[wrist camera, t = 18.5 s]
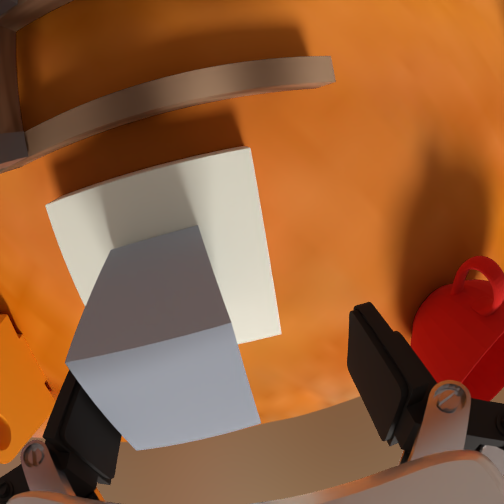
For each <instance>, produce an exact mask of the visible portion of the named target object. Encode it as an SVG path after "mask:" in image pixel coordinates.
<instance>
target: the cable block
mask: <svg viewBox="0 0 504 504" xmlns="http://www.w3.org/2000/svg"><path fill="white" fill-rule="evenodd" d="M65 363H66V365H67V366H68V368H69V369H70V371H71V372H72V374H73V375H74V376H75V378H76V379H77V381H78V382H79V383H80V385H81V386H82V387H83V389H84V390H85V391H86V393H87V394H88V395H89V397H90V398H91V399H92V401H93V402H94V403H95V404H96V406H97V407H98V408H99V409H100V411H101V412H102V413H103V414H104V415H105V417H106V418H107V419H108V420H109V421H110V422H111V424H112V425H113V426H114V427H115V428H116V429H117V430H118V431H119V433H120V434H121V435H122V436H123V437H124V438H125V439H126V440H127V441H128V442H129V443H130V444H131V445H132V446H133V447H134V448H135V449H136V450H145V449H152V448H158V447H165V446H170V445H176V444H181V443H186V442H191V441H196V440H200V439H205V438H209V437H213V436H217V435H221V434H225V433H229V432H233V431H237V430H240V429H244V428H247V427H250V426H254V425H257V424H260V423H261V421H260V418H259V415H258V412H257V409H256V405H255V402H254V399H253V395H252V392H251V389H250V385H249V382H248V379H247V375H246V372H245V369H244V365H243V362H242V358H241V355H240V351H239V348H238V344H237V341H236V337H235V334H234V330H233V326H232V323H231V320H230V317H229V314H228V312H227V309H226V306H225V303H224V301H223V298H222V295H221V292H220V289H219V286H218V283H217V281H216V278H215V275H214V272H213V269H212V266H211V263H210V260H209V257H208V254H207V251H206V248H205V245H204V242H203V239H202V236H201V233H200V230H199V227H198V225H196V226H192V227H189V228H185V229H181V230H178V231H174V232H170V233H167V234H163V235H160V236H156V237H153V238H149V239H146V240H142V241H139V242H135V243H132V244H128V245H125V246H122V247H118V248H115V249H112V250H110V252H109V255H108V257H107V259H106V261H105V263H104V265H103V267H102V269H101V272H100V274H99V276H98V278H97V280H96V283H95V285H94V287H93V290H92V292H91V294H90V297H89V299H88V302H87V304H86V306H85V309H84V311H83V314H82V316H81V319H80V322H79V324H78V327H77V329H76V332H75V335H74V338H73V340H72V343H71V346H70V349H69V352H68V355H67V358H66V361H65Z"/></svg>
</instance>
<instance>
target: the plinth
mask: <svg viewBox="0 0 504 504" xmlns="http://www.w3.org/2000/svg"><path fill="white" fill-rule="evenodd" d="M45 206H46V209H47V212H48V215H49V219H50V222H51V225H52V227H53V230H54V233H55V236H56V239H57V242H58V244H59V247H60V250H61V252H62V255H63V257H64V260H65V262H66V265H67V267H68V270H69V272H70V274H71V277H72V279H73V281H74V284H75V286H76V288H77V290H78V292H79V295H80V297H81V299H82V301H83V303H84V305H85V306H86V304H87V302H88V299H89V297H90V294H91V292H92V290H93V287H94V285H95V283H96V280H97V278H98V276H99V274H100V272H101V269H102V267H103V265H104V263H105V261H106V259H107V257H108V255H109V252H110V250H112V249H115V248H118V247H122V246H125V245H128V244H132V243H135V242H139V241H142V240H146V239H149V238H153V237H156V236H160V235H163V234H167V233H170V232H174V231H178V230H181V229H185V228H189V227H192V226H196V225H198V227H199V230H200V233H201V236H202V239H203V242H204V245H205V248H206V251H207V254H208V257H209V260H210V263H211V266H212V269H213V272H214V275H215V278H216V281H217V283H218V286H219V289H220V292H221V295H222V298H223V301H224V303H225V306H226V309H227V312H228V314H229V317H230V320H231V323H232V326H233V330H234V334H235V337H236V341H237V344H241V343H245V342H250V341H254V340H258V339H263V338H267V337H271V336H275V335H279V334H281V328H280V321H279V315H278V308H277V302H276V296H275V290H274V283H273V277H272V271H271V265H270V259H269V253H268V247H267V241H266V235H265V229H264V223H263V217H262V211H261V205H260V200H259V194H258V188H257V182H256V177H255V171H254V165H253V160H252V154H251V149H250V148H249V147H246V146H240V147H235V148H230V149H225V150H220V151H215V152H211V153H206V154H202V155H197V156H193V157H189V158H184V159H180V160H176V161H172V162H168V163H164V164H161V165H157V166H153V167H149V168H146V169H142V170H139V171H135V172H132V173H129V174H125V175H122V176H119V177H115V178H112V179H109V180H106V181H103V182H100V183H97V184H94V185H91V186H88V187H85V188H82V189H79V190H76V191H74V192H71V193H68V194H65V195H63V196H61V197H59V198H57V199H55V200H54V201H52V202H50V203H48V204H47V205H45Z"/></svg>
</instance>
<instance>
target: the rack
mask: <svg viewBox="0 0 504 504" xmlns="http://www.w3.org/2000/svg"><path fill="white" fill-rule="evenodd" d="M71 1H73V0H18V3H17V5H15V6H14V7H12V8H11V9H9V10H8V11H6V12H5V13H3V14H2V15H1V16H0V134H3V133H11V132H21V131H23V125H22V119H21V112H20V104H19V95H18V84H17V70H16V31H18V30H19V29H21V28H23V27H24V26H26V25H28V24H29V23H31V22H33V21H34V20H36V19H38V18H40V17H41V16H43V15H45V14H47V13H49V12H51V11H53V10H55V9H56V8H58V7H60V6H62V5H65V4H67V3H69V2H71ZM333 82H336V81H335V75H334V70H333V65H332V60H331V56H306V57H287V58H274V59H264V60H255V61H246V62H239V63H232V64H226V65H220V66H214V67H209V68H203V69H198V70H194V71H189V72H184V73H180V74H176V75H172V76H168V77H164V78H160V79H156V80H153V81H149V82H146V83H142V84H139V85H136V86H133V87H129V88H126V89H123V90H120V91H117V92H114V93H112V94H109V95H106V96H103V97H101V98H98V99H95V100H93V101H90V102H88V103H85V104H83V105H80V106H78V107H75V108H73V109H71V110H68V111H66V112H64V113H62V114H60V115H57V116H55V117H53V118H51V119H49V120H47V121H45V122H43V123H41V124H39V125H37V126H35V127H33V128H31V129H29V130H27V131H25V132H24V137H25V142H26V147H27V152H28V157H27V158H25V159H23V160H21V161H19V162H17V163H15V164H13V165H11V166H9V167H5V168H2V169H0V174H1V173H4V172H7V171H10V170H13V169H16V168H20V167H22V166H24V165H26V164H28V163H30V162H32V161H34V160H36V159H38V158H40V157H42V156H44V155H47V154H49V153H51V152H53V151H55V150H58V149H60V148H62V147H65V146H67V145H70V144H72V143H74V142H77V141H79V140H82V139H85V138H87V137H90V136H93V135H95V134H98V133H101V132H104V131H106V130H109V129H112V128H115V127H118V126H121V125H124V124H127V123H131V122H134V121H137V120H140V119H144V118H147V117H151V116H154V115H158V114H162V113H165V112H169V111H173V110H177V109H181V108H186V107H190V106H194V105H199V104H204V103H209V102H214V101H219V100H224V99H230V98H236V97H242V96H248V95H255V94H262V93H270V92H279V91H289V90H299V89H313V88H318V87H321V86H324V85H327V84H330V83H333Z"/></svg>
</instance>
